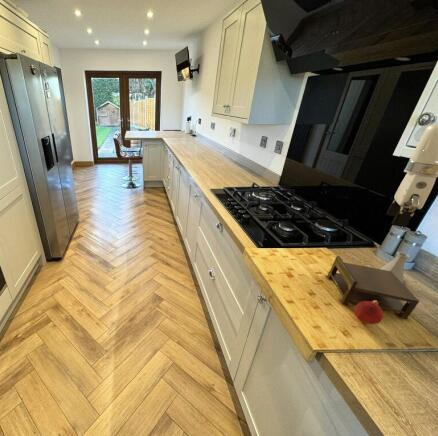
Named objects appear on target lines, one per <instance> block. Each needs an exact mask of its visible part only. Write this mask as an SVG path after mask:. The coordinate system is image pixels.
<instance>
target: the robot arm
mask: <svg viewBox="0 0 438 436" xmlns="http://www.w3.org/2000/svg"><path fill="white" fill-rule="evenodd" d="M423 150H424V151H423ZM435 161H438V123H432V124H429V125H428V126H426V127H425V129H424V131H423V132H422V134H421V136H420V139H419V140H418V143H417V144H416V146H415V149H414V150H413V152H412V154H411V155H410V158H409V160H408V162H407V164H406V166H405V167H404V170H403V172H404V173H406V174H405V176H404V178H403V179H402V181H401V182H400V185H399V186H398V188H397V190H396V191H395V194H394V199H393V201H392V202H391V204H390V205H389V208H388V210H387V212H386V216H391V217H394V218H393V220H392V222H391V225H393V226H395V227H399V228H400V227H401V228H407V226H408V224H409V223H410V221H411V219H412V218H413V216H414V214H415V212H416V210H422V208H423V207H424V205H425V203H426V201H427V199H428V198H429V195H430V194H431V192H432V189H433V188H434V185H435V183H436V179H437V178H438V163H436V162H435Z"/></svg>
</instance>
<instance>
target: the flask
mask: <svg viewBox="0 0 438 436" xmlns="http://www.w3.org/2000/svg"><path fill="white" fill-rule="evenodd" d="M410 258H411V257H410V255H409V254H407V253H404V252H401V251H397V252H396V256H395V257H394V258H393V259H392V260H391V261H390V262H388V263H387V264H385V265H383V266H382V267H380V268H379V269H381V270H387V271H391V272H392V273H393V274H394V275H395V276H396V277H397V278H398V279H399V280H400V281H401V282H402V283H403V284H404V274H405V273H404V271H405V265H406V262H407V260H408V259H410Z"/></svg>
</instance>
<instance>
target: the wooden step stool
mask: <svg viewBox="0 0 438 436" xmlns="http://www.w3.org/2000/svg"><path fill="white" fill-rule="evenodd" d="M326 277H327V279H329V280H332V281H333V283H334V284H335V286H336V287H337V290H338V292H339V293H340V295H341V299H340V302H341V303H340V304H342V305H344V306H348V305H349V303H350V302H352V303H356V304H358V303H360V302H363V301H370V302H372V301H374V300H375V301H378V305H379V306H380V307H381V309H382V310H386V311H391V312H396V313H397V315H398V316H399V318H401V319H405V320H407V319H408V318H409V317H410V315H411V313H412V312H413V311H414V310H415V308H416V307H417V306H418V304H419V303H420V300H419V299H418V298H417V297H416V296H415V295H414V293H412V292H411V290H409V288H407V286H406V285H405V284H404V282H403V283H402V282H401V281H400V280H399V279H398V278H397V277H396V276H395V275H394V274H393V273H392V272H391V271H387V270H381V269H380V268H375V267H371V266H366V265H359V264H355V263H349V262H346V261H345V262H344V260H343V259H342V258H341V256H340V255H336V256H335V260H334V261H333V263H332V265H331V267H330V269H329V271H328V274H327V276H326ZM402 301H403V302H405V303H402Z"/></svg>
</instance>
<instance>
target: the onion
mask: <svg viewBox="0 0 438 436" xmlns="http://www.w3.org/2000/svg"><path fill="white" fill-rule="evenodd" d="M354 314H355V316H356V317H357V319H358V320H359V321H360V322H361V323H363V324H366V325H376V324H380V323H381V322H382V321H383V319H384V315H385V314H384V310H383V309H382V308H381V307H380V306H379V305H378V301H375V300H374V301H372V302H370V301H363V302H360V303H356V305H355V306H354Z"/></svg>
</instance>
